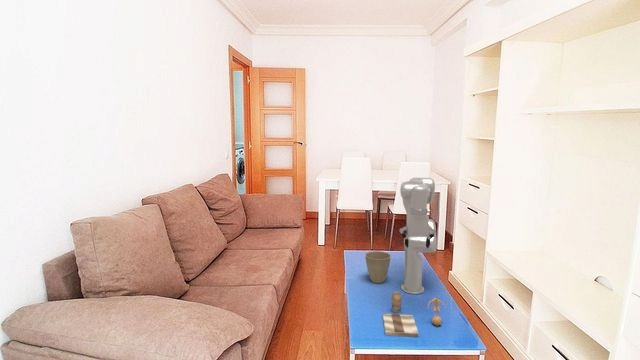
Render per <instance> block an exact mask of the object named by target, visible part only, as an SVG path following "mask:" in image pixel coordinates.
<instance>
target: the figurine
mask: <svg viewBox="0 0 640 360" xmlns="http://www.w3.org/2000/svg"><path fill="white" fill-rule="evenodd" d="M432 302H433V306H432V307H433V313H434V316H433V317H432V323H433V324H434V326H440V325H442V319H441V317H440V316H439V313H440V305H439V303H441V304H442V306H443V307H444V309H446V306H445V304H444V302H443V301H442V300H440V299H438V298H436V297H434V298H433V299H432V300H430V301H428V304H427V310H429V309H430V308H429V307H430V303H432ZM436 311H437V312H436ZM436 313H437V315H436Z"/></svg>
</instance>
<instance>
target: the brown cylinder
mask: <svg viewBox="0 0 640 360" xmlns="http://www.w3.org/2000/svg"><path fill="white" fill-rule="evenodd" d="M401 309H402V293H401V292H398V291H394V292H392V293H391V312H392V314H401V313H402V312H401V311H402V310H401Z"/></svg>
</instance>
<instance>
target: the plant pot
mask: <svg viewBox="0 0 640 360" xmlns="http://www.w3.org/2000/svg"><path fill="white" fill-rule="evenodd" d="M364 256H365V263H366V267H367V268H366V269H367V272H368V276H369V278H370V280H371V282H372V283H374V284H383V283H384V282H385V281H386V280H385V279H386V277H387V274H388V271H389V267H390V263H391V257H392V255H391V254H390V253H389V252H386V251H382V250H381V251H379V250H378V251H377V250H375V251H374V250H372V251H368V252H366V253H365V254H364Z"/></svg>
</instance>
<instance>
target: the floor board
mask: <svg viewBox="0 0 640 360" xmlns="http://www.w3.org/2000/svg"><path fill="white" fill-rule="evenodd" d="M382 319H383V320H382V321H383V328H384V334H385V336H392V337H395V336H396V337H409V338H411V337H413V338H419V335H420V333H419V331H418V327H417V325H416V321H415V319H414V315H413V314H401V313H382Z"/></svg>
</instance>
